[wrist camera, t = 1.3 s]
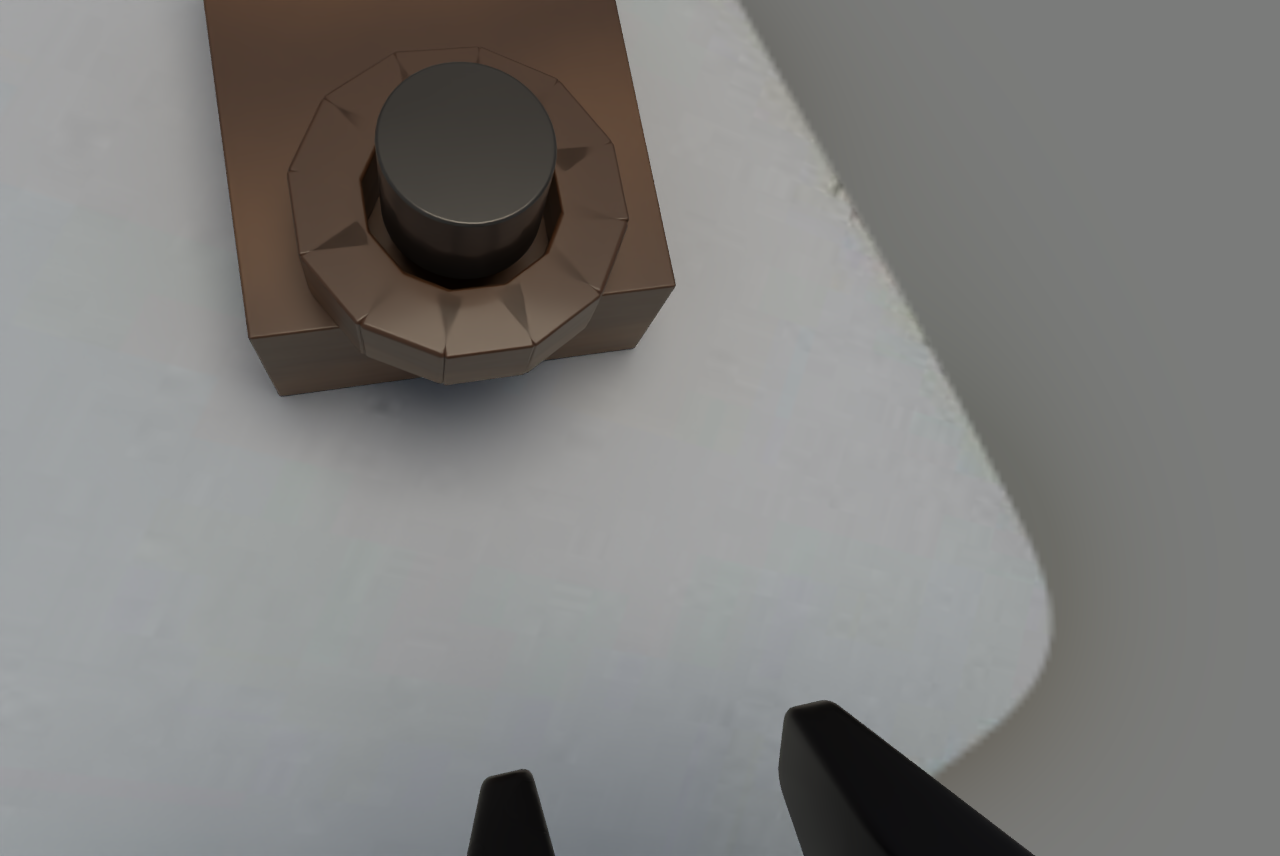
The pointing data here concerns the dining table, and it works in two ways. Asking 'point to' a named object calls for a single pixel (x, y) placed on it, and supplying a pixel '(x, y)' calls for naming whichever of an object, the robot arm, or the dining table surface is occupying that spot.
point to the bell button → (463, 168)
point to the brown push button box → (350, 200)
